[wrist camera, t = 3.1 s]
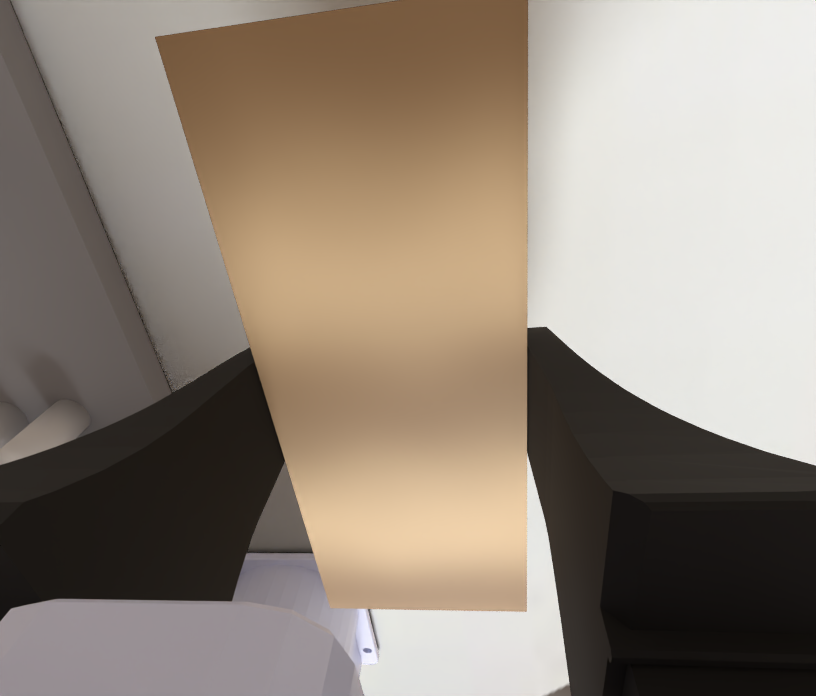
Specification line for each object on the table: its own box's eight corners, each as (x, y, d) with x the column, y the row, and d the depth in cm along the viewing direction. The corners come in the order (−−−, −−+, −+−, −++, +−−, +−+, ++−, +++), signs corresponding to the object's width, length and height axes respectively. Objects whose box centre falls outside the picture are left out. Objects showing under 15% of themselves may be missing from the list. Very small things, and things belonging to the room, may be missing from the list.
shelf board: (514, 511, 17) (526, 611, 14) (353, 512, 17) (330, 608, 14) (507, 5, 10) (527, -19, 7) (242, 43, 11) (155, 37, 8)
